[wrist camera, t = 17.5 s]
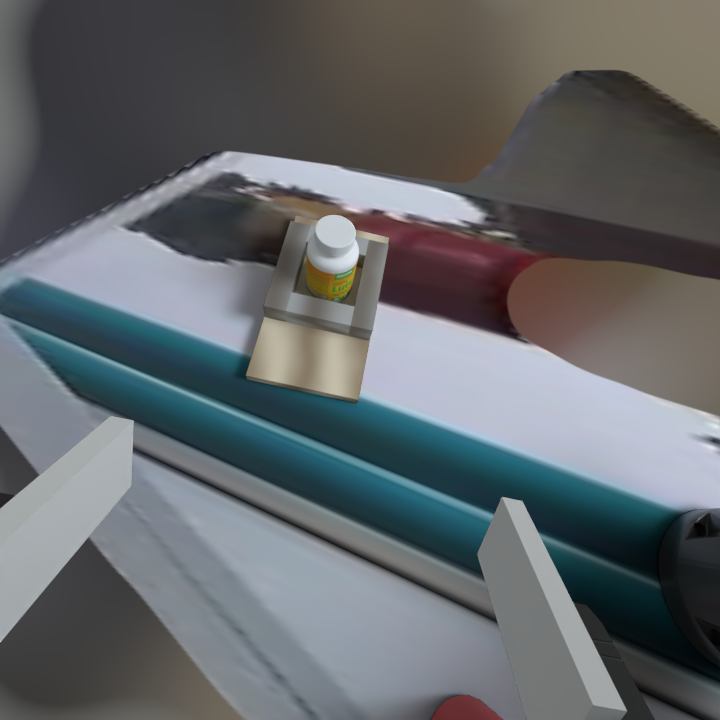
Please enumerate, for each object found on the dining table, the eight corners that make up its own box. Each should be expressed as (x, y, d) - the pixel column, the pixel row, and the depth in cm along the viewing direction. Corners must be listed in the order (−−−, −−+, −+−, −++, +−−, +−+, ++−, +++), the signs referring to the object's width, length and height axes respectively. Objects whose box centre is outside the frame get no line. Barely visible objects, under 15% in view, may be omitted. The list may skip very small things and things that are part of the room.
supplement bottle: (332, 314, 48) (340, 263, 39) (295, 287, 49) (295, 231, 40) (360, 284, 50) (374, 229, 41) (324, 259, 51) (330, 199, 42)
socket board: (387, 243, 54) (393, 224, 51) (356, 403, 45) (361, 392, 42) (296, 222, 54) (296, 200, 50) (247, 379, 45) (243, 366, 41)
